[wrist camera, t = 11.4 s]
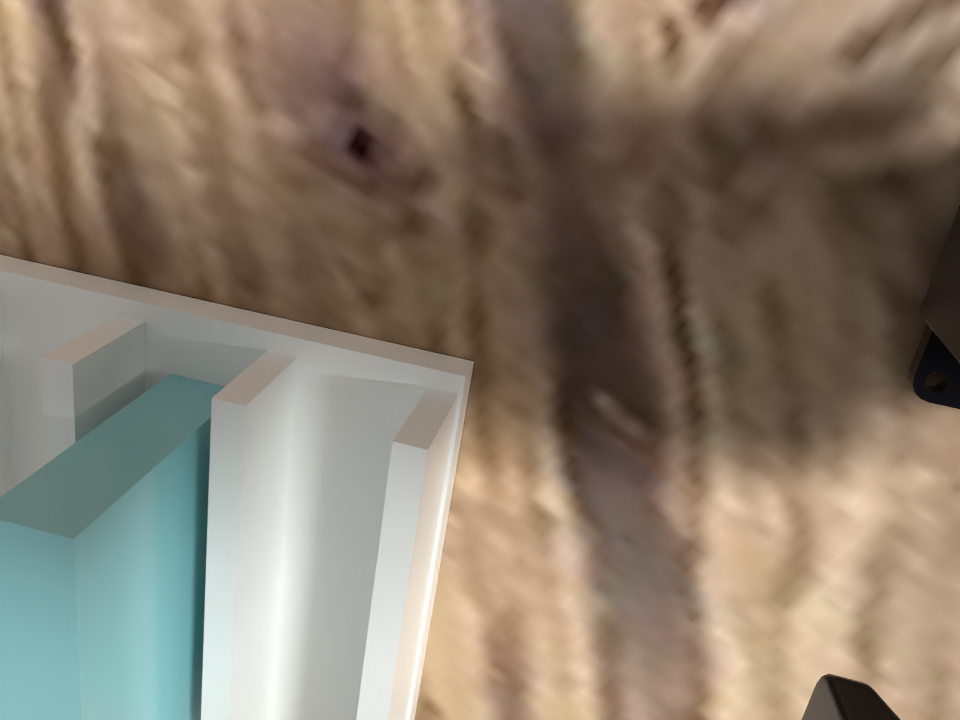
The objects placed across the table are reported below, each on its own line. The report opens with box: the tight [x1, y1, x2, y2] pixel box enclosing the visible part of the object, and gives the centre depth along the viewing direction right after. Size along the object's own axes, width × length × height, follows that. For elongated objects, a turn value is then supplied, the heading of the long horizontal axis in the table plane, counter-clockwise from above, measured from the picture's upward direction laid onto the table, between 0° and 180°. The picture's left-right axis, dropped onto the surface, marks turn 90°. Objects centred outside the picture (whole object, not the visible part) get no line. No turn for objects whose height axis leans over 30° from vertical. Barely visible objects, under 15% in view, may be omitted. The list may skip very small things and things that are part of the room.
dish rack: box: [0, 255, 474, 720], centre depth 24 cm, size 14×14×4 cm
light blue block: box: [0, 374, 225, 720], centre depth 21 cm, size 2×10×7 cm, turn 171°
